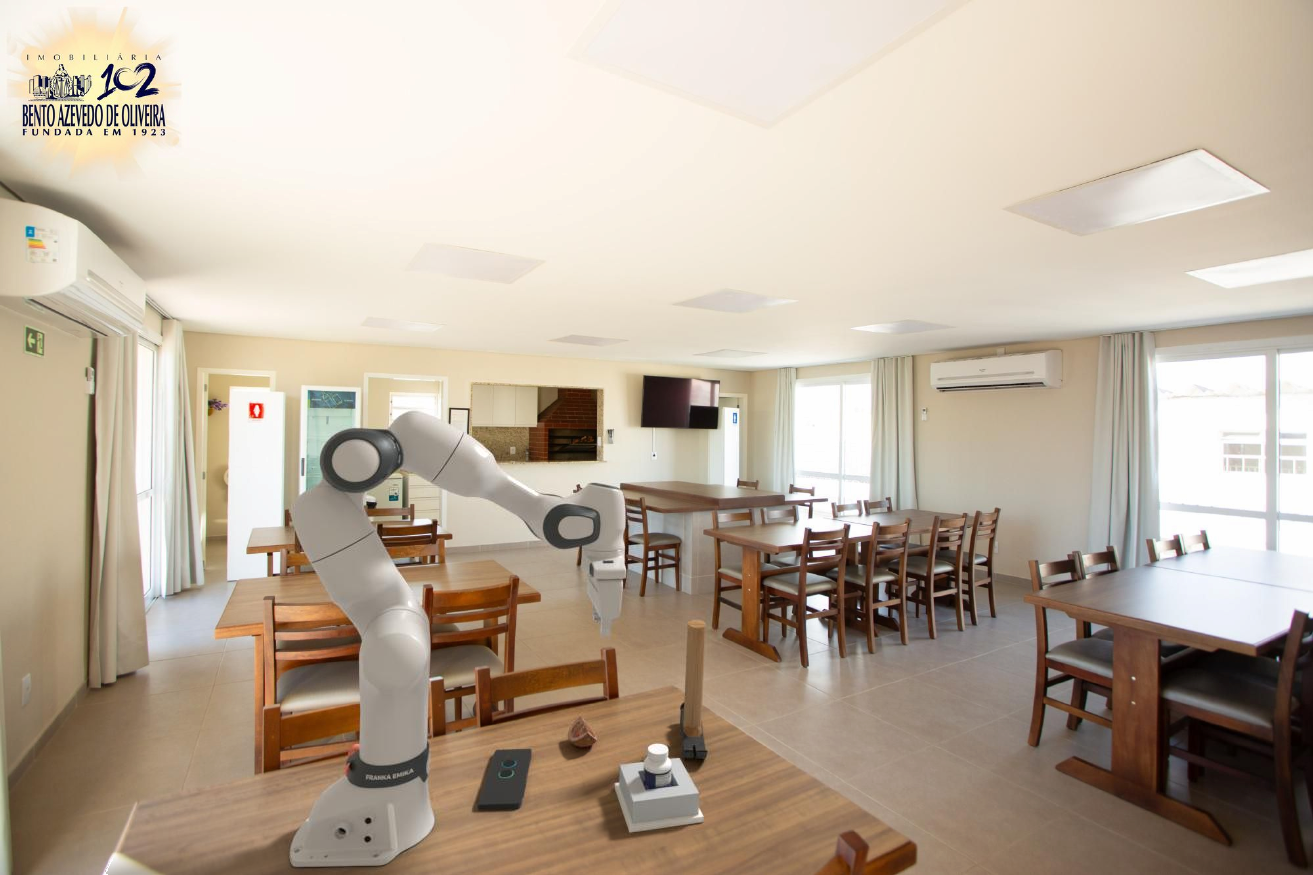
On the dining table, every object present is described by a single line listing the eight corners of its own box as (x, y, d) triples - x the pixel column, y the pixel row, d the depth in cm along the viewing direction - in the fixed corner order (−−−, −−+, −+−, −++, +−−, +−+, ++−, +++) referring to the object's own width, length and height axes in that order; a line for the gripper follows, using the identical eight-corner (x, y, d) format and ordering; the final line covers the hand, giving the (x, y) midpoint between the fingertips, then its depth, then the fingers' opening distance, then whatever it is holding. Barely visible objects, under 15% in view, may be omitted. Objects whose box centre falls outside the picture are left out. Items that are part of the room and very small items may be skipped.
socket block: (629, 832, 107) (630, 804, 107) (614, 787, 121) (615, 763, 121) (703, 821, 111) (704, 794, 111) (681, 779, 124) (681, 755, 124)
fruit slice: (600, 753, 134) (601, 730, 134) (570, 757, 132) (571, 734, 132) (593, 735, 142) (593, 714, 142) (565, 738, 140) (565, 717, 140)
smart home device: (532, 747, 133) (521, 802, 113) (532, 755, 133) (521, 811, 113) (494, 748, 132) (476, 803, 112) (494, 756, 132) (476, 813, 112)
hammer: (706, 774, 130) (712, 647, 125) (683, 774, 130) (688, 647, 125) (699, 715, 150) (704, 604, 145) (679, 715, 150) (683, 603, 145)
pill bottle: (638, 794, 117) (639, 744, 117) (663, 788, 119) (664, 739, 119) (649, 810, 112) (650, 758, 112) (675, 803, 114) (676, 752, 114)
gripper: (581, 552, 133) (579, 614, 133) (595, 572, 113) (593, 646, 113) (609, 551, 135) (607, 613, 135) (628, 571, 115) (626, 644, 115)
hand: (601, 628), depth 124 cm, fingers open, 8 cm apart
